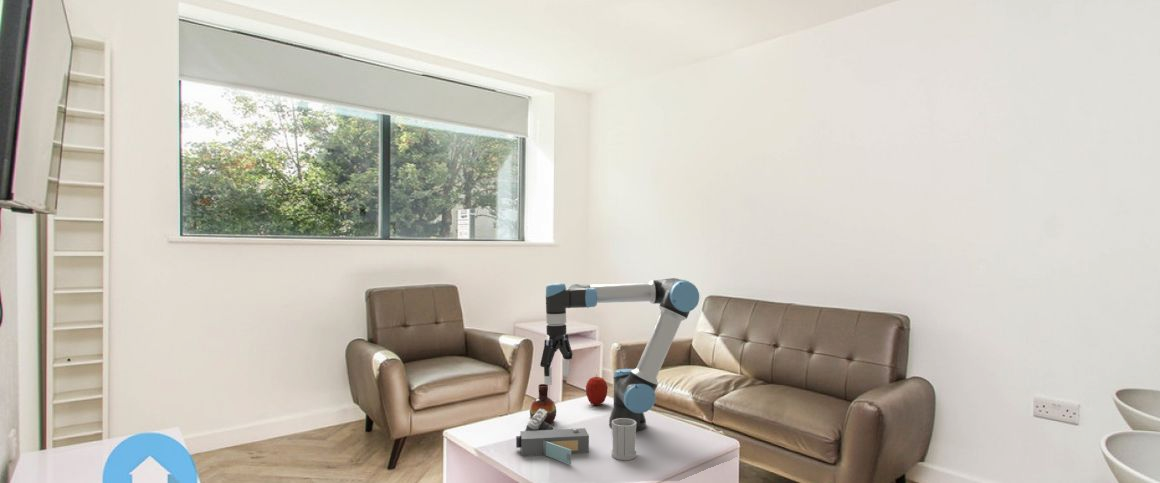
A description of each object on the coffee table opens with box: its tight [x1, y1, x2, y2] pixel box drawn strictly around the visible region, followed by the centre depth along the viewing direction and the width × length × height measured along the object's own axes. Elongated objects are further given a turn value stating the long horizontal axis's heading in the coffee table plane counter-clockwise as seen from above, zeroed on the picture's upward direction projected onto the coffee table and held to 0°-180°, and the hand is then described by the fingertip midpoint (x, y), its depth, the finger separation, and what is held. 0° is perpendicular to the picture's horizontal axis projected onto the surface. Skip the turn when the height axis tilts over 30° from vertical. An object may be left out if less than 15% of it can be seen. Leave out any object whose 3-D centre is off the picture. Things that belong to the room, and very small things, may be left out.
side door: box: [542, 441, 572, 465], centre depth 192 cm, size 13×1×5 cm, turn 49°
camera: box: [524, 409, 554, 431], centre depth 213 cm, size 9×16×10 cm, turn 169°
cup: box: [610, 418, 637, 461], centre depth 197 cm, size 10×9×12 cm
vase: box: [529, 383, 557, 425], centre depth 231 cm, size 11×11×15 cm
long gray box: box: [515, 427, 590, 457], centre depth 201 cm, size 26×8×7 cm, turn 100°
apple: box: [585, 374, 609, 407], centre depth 257 cm, size 10×10×14 cm
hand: (557, 380), depth 210 cm, fingers open, 13 cm apart
